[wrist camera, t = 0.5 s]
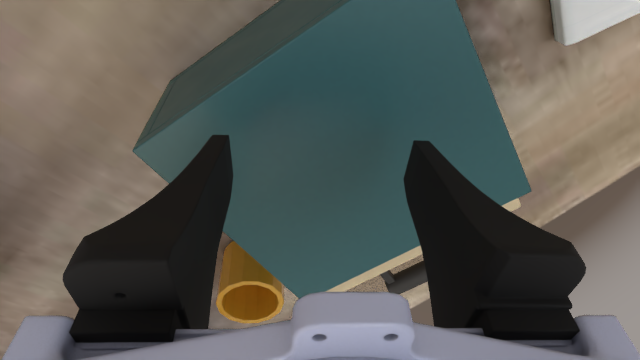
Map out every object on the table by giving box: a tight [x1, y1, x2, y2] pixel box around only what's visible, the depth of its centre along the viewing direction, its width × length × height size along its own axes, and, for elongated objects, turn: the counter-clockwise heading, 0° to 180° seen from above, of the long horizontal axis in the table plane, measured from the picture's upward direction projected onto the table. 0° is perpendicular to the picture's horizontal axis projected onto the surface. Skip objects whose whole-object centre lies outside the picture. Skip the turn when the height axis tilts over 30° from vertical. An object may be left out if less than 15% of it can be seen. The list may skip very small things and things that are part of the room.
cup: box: [216, 241, 284, 323], centre depth 31 cm, size 5×5×5 cm
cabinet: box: [133, 0, 531, 299], centre depth 22 cm, size 13×14×8 cm
